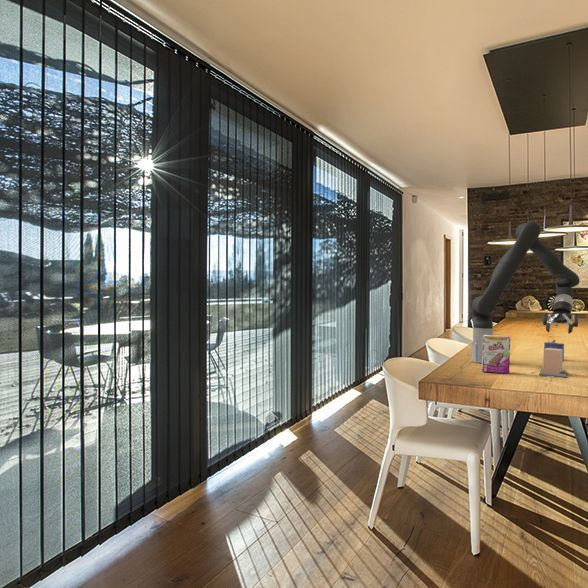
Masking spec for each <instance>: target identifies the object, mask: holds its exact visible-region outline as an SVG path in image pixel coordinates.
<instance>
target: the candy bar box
mask: <svg viewBox="0 0 588 588" xmlns="http://www.w3.org/2000/svg"><path fill="white" fill-rule="evenodd" d="M510 353H511V336H510V335H495V334H493V335H483V355H482V363H481V366H482V367H481V370H482V373H489V374H503V375H504V374H507V375H509V374H510V360H511V359H510V358H511V354H510Z"/></svg>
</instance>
